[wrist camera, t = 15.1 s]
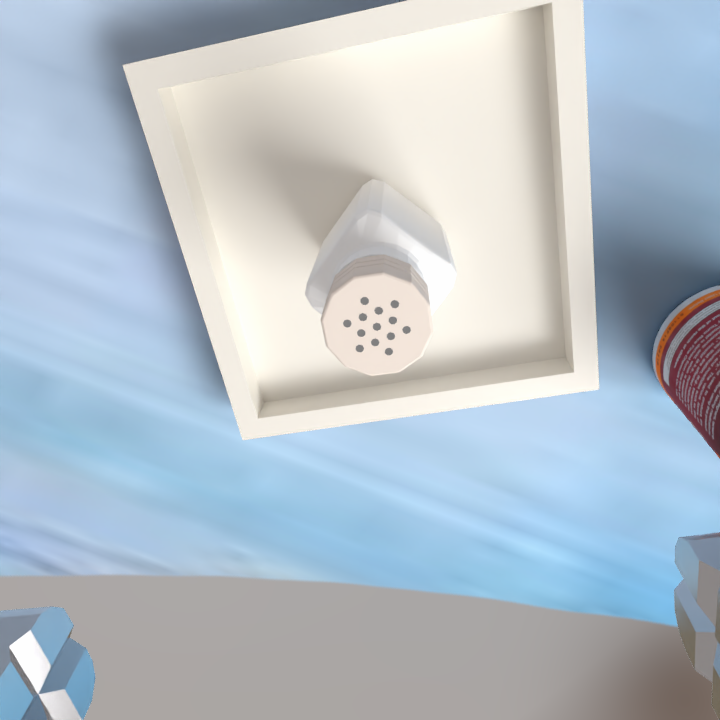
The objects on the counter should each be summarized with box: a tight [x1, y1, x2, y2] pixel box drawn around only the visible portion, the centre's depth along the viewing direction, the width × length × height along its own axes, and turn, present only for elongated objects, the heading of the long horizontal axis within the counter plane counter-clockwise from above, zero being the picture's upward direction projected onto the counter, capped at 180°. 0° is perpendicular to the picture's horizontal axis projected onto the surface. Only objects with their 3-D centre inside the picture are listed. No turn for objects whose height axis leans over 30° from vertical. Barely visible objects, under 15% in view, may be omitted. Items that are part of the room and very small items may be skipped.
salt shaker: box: [305, 179, 457, 376], centre depth 22 cm, size 4×4×10 cm
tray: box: [123, 0, 599, 440], centre depth 26 cm, size 16×16×2 cm
